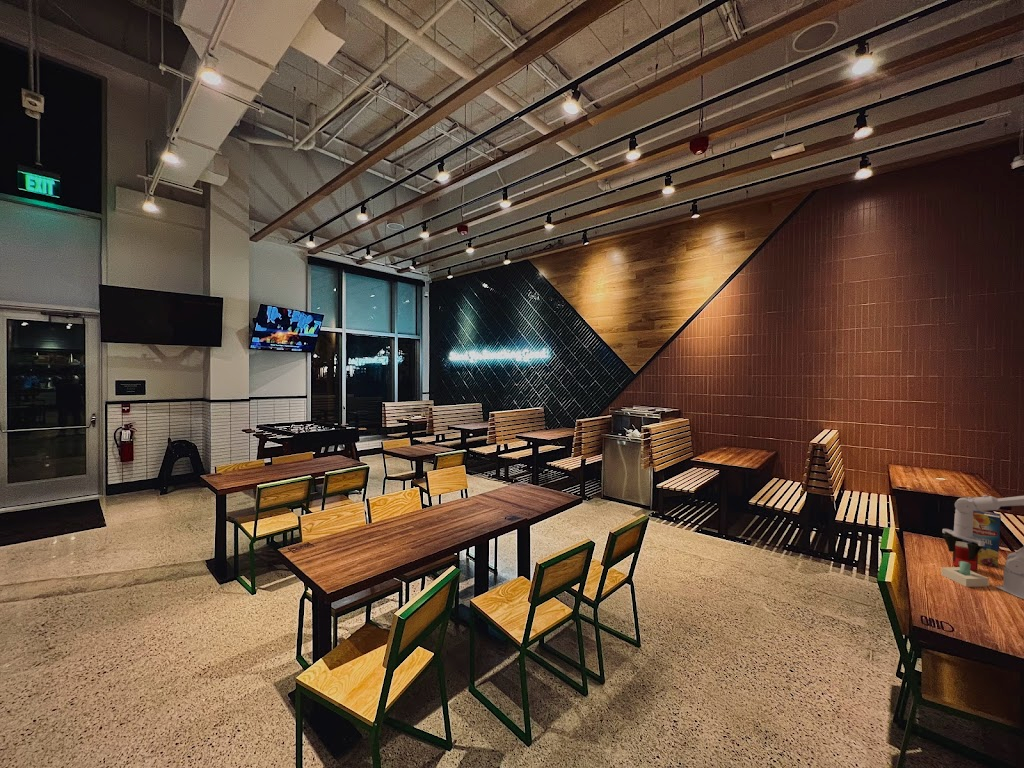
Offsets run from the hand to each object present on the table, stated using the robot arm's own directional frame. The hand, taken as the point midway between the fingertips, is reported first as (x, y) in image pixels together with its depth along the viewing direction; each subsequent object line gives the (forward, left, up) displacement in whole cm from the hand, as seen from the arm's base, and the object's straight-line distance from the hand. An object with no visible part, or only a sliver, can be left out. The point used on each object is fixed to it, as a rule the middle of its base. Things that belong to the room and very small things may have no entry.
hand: (961, 555), depth 188 cm
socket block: (-3, +2, -10) cm, 11 cm away
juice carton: (+14, -25, -10) cm, 31 cm away
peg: (-3, +2, -10) cm, 11 cm away
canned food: (+8, -11, -10) cm, 17 cm away
